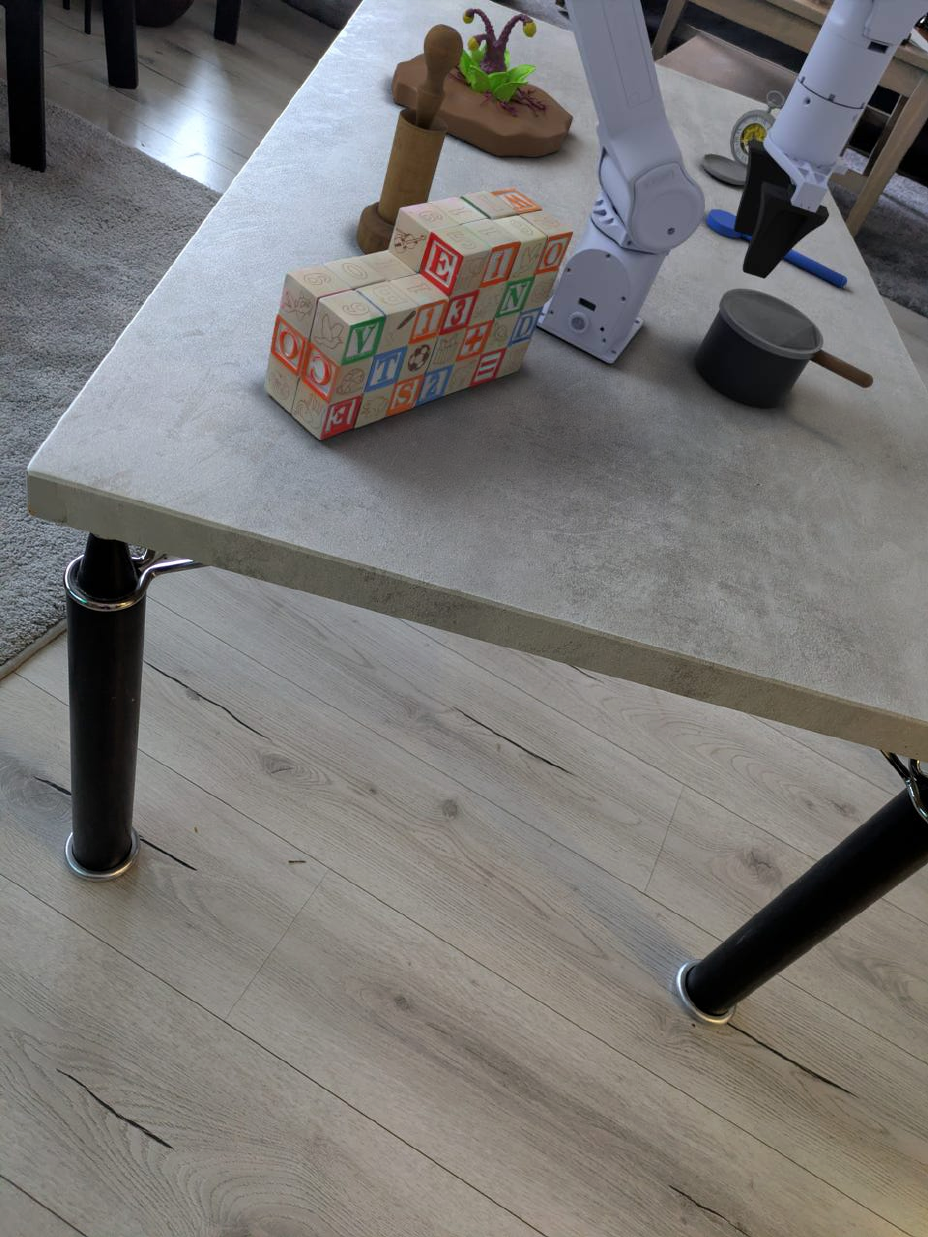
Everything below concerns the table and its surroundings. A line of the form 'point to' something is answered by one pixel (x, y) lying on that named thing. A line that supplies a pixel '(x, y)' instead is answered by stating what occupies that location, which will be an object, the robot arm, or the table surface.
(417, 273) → the stack of blocks
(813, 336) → the pot
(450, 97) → the plant
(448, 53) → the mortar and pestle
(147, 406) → the table surface
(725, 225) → the spoon
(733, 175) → the pocket watch
